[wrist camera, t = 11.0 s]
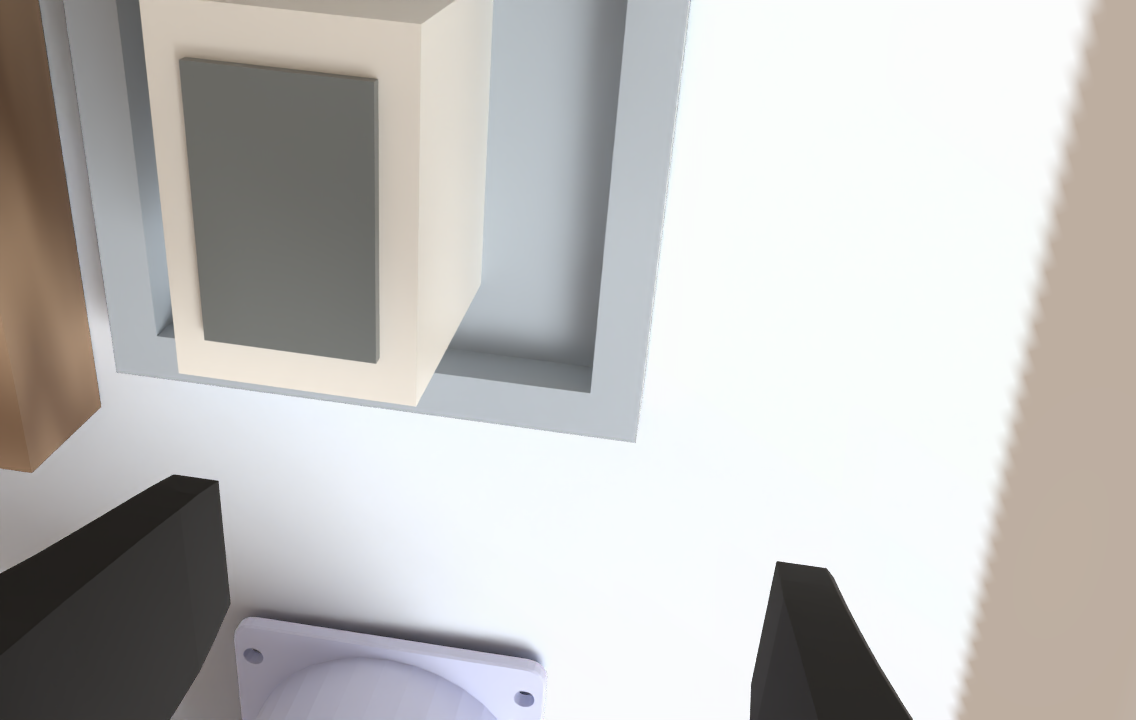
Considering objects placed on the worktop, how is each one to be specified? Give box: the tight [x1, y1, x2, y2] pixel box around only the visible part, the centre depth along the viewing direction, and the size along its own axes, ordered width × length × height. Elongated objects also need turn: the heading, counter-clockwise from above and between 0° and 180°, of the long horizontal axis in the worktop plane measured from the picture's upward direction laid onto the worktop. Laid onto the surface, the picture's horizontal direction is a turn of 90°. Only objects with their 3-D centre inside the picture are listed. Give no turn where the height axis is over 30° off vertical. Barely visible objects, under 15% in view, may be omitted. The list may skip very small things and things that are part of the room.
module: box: [139, 0, 493, 407], centre depth 18 cm, size 6×4×5 cm, turn 175°
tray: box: [63, 0, 691, 443], centre depth 20 cm, size 11×11×2 cm
